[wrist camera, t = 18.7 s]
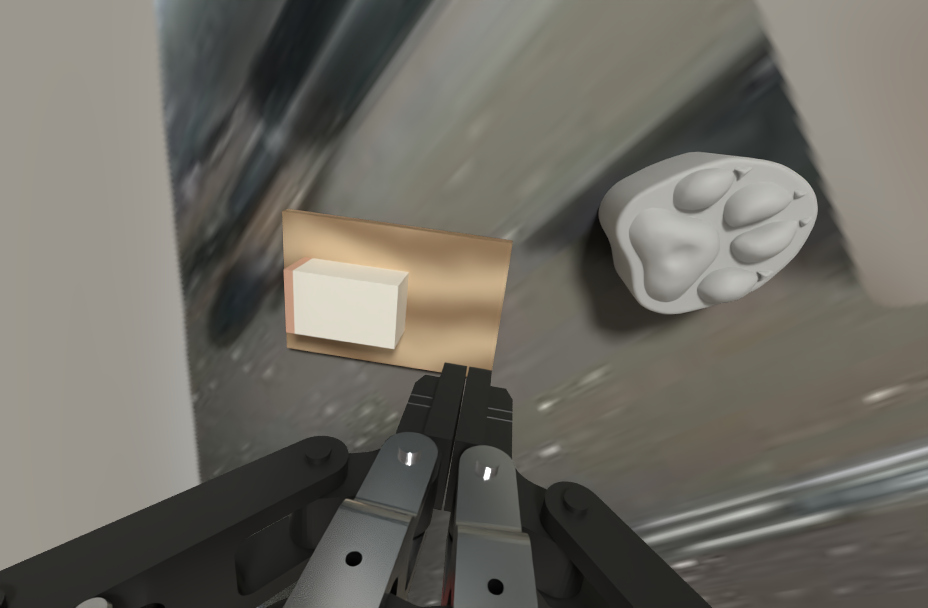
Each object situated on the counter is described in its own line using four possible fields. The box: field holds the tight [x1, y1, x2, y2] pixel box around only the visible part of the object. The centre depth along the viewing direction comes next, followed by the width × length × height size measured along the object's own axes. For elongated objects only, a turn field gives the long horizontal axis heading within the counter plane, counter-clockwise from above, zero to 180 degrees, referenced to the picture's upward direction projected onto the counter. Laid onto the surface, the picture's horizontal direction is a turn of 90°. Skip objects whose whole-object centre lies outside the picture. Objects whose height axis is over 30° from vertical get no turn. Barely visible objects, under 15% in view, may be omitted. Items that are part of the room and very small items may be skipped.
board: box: [282, 209, 512, 376], centre depth 43 cm, size 14×21×1 cm, turn 83°
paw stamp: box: [599, 152, 818, 314], centre depth 34 cm, size 10×13×9 cm
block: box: [284, 257, 409, 349], centre depth 41 cm, size 6×4×10 cm
